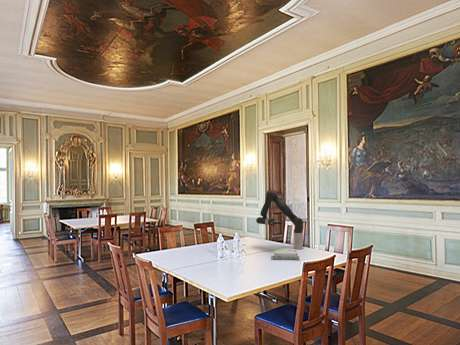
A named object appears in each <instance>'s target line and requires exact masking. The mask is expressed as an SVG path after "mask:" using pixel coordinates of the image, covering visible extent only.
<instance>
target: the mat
mask: <svg viewBox="0 0 460 345" xmlns="http://www.w3.org/2000/svg"><path fill="white" fill-rule="evenodd" d="M270 261H301V258H300V256H299V255H298V259H275V255H271V258H270Z"/></svg>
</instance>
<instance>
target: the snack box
mask: <svg viewBox="0 0 460 345" xmlns="http://www.w3.org/2000/svg"><path fill="white" fill-rule="evenodd" d="M273 252H274V254H273V256H275V259H298V256H299V255H298V251H297V250H290V249H289V250H284V249H283V250H282V249H281V250H280V249H279V250H278V249H275V250H274V251H273Z"/></svg>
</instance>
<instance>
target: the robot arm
mask: <svg viewBox="0 0 460 345" xmlns="http://www.w3.org/2000/svg"><path fill="white" fill-rule="evenodd" d="M265 194H266V195H265V201H264V202H263V206H262V208H261V211H260V213H259V214H260V216H259V217H257V218H256V219H255V220H256V223H257V224H259V225H267V226H272V227H273V226H276V225H282V224H283V222H282V221H281V220H276V219H275V218H269V217H267V216H268V212H269V210H270V206H271V203H272V202H273V203H274V204H275V205H276V207H277V209H278V210H280V212H282V213H283V214H284V215H285V217H287V218H288V219H289V220H290V222H292V224H293V225H294V229H293V249H294V250H303V249H304V241H303V239H304V237H303V236H304V235H303V234H304V233H303V230H304V221H303V219H302V218H301V217H298V216H297V215H295V214H294V212H293V211H292V208H291V207H289V205H288V204H287V203H285V202H284V201H283V199H281V198H280V197H279V196H278V194H277V193H276V192H275V191H274V190H272V189H269V190H267V191H266V193H265Z"/></svg>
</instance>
